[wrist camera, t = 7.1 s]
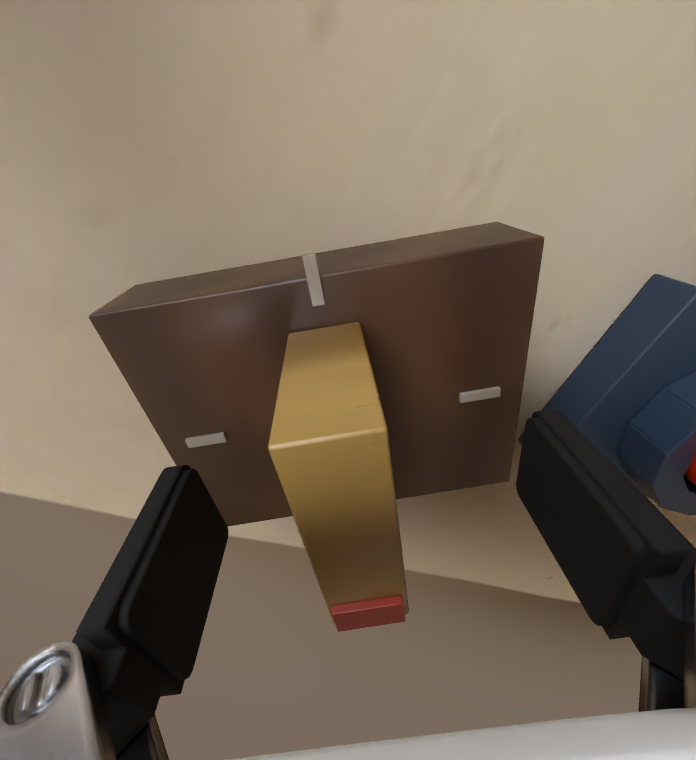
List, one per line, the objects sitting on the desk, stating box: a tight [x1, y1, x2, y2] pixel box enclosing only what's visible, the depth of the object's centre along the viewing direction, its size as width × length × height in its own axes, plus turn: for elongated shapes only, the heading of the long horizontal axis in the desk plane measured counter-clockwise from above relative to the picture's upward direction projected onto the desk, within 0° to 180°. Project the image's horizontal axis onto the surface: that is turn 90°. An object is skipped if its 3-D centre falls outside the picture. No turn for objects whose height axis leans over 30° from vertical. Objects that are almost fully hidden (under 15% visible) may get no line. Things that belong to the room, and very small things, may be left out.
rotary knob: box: [268, 322, 409, 631], centre depth 10 cm, size 7×2×5 cm, turn 9°
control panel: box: [89, 222, 544, 526], centre depth 13 cm, size 13×11×3 cm
